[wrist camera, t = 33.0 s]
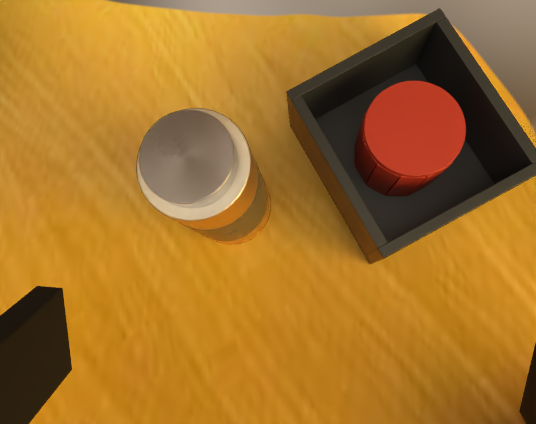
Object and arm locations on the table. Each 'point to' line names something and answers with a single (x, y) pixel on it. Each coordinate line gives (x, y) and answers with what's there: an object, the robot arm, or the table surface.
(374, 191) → the bin
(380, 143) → the cap
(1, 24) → the table surface
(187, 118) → the spray can
